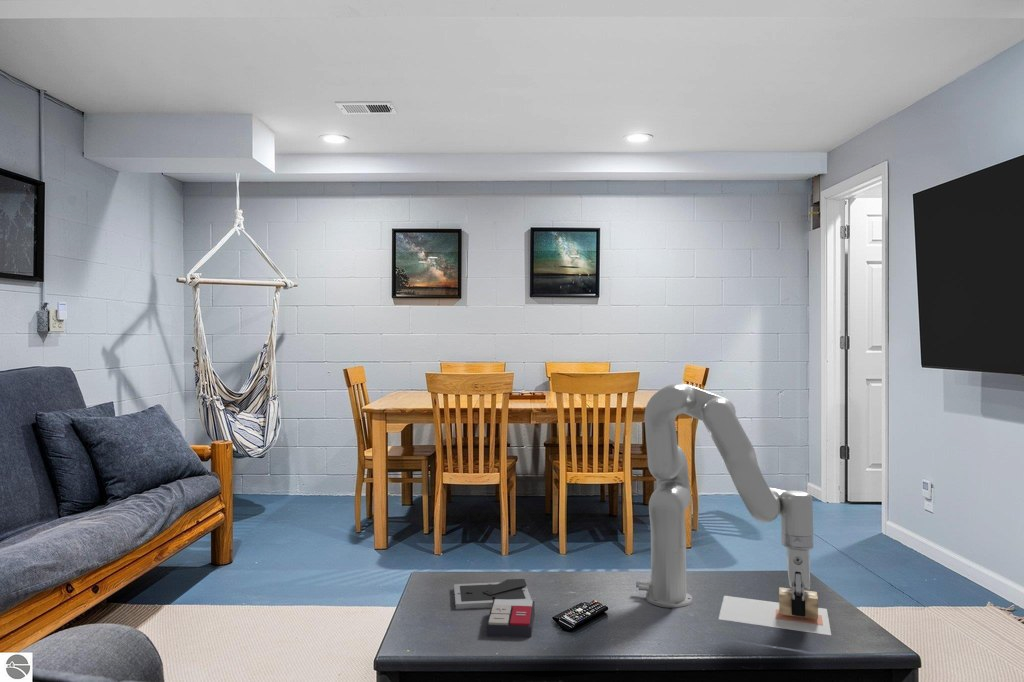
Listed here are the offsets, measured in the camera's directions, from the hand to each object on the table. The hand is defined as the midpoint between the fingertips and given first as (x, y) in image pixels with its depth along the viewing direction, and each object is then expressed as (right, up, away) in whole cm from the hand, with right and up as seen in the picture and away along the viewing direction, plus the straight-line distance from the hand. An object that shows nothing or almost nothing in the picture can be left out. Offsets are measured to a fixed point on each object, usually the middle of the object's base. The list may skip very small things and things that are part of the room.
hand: (798, 610), depth 168 cm
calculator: (-74, -3, -3) cm, 74 cm away
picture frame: (-79, -4, +16) cm, 81 cm away
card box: (0, -1, 0) cm, 1 cm away
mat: (-6, -2, +2) cm, 6 cm away
